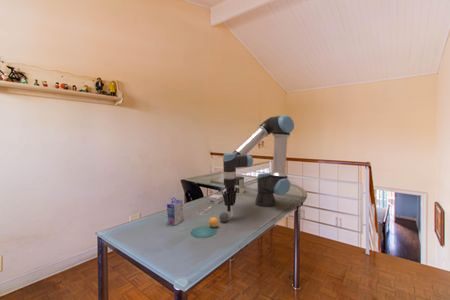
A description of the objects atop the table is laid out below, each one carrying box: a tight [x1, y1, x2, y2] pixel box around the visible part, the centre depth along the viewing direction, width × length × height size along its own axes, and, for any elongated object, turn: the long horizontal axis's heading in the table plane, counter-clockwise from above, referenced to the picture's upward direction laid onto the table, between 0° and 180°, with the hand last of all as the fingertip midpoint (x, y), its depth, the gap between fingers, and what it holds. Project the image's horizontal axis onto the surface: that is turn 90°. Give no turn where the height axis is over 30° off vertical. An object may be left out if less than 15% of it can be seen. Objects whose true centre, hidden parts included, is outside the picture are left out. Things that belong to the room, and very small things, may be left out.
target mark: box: [190, 225, 218, 239], centre depth 118 cm, size 14×14×1 cm
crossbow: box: [195, 205, 213, 216], centre depth 151 cm, size 16×13×2 cm
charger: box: [206, 194, 224, 205], centre depth 175 cm, size 5×9×15 cm
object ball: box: [208, 216, 219, 228], centre depth 124 cm, size 6×6×6 cm
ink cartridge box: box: [166, 197, 184, 226], centre depth 132 cm, size 10×6×14 cm, turn 161°
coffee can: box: [235, 175, 245, 195], centre depth 198 cm, size 10×10×14 cm
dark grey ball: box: [219, 211, 230, 223], centre depth 131 cm, size 6×6×6 cm
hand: (230, 215), depth 135 cm, fingers closed
